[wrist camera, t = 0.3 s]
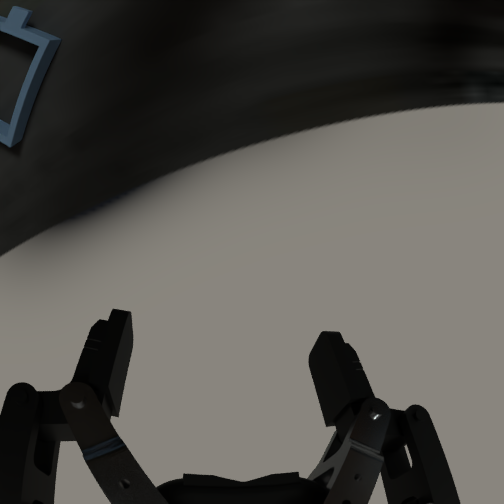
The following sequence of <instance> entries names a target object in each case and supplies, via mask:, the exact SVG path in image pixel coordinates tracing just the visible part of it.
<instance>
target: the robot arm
mask: <svg viewBox="0 0 504 504" xmlns="http://www.w3.org/2000/svg"><path fill="white" fill-rule="evenodd" d="M132 348H133V329H132V316H131V312H130V311H124V310H118V309H113V310H112V311H111V314H110V316H109V319H108V321H106V320H101V319H100V320H98V321H97V322H96V323H95V324H94V325H93V326H92V327H91V329H90V332H89V335H88V337H87V340H86V342H85V345H84V348H83V350H82V353H81V356H80V359H79V362H78V364H77V367H76V370H75V373H74V377H73V379H72V381H71V382H70V383H69V384H67V385H65V386H64V387H63V388H62V389H61V390H57V391H36V390H35V389H34V387H33V386H31V385H30V384H28V383H17V384H14V385H13V386H12V387H11V388H10V389H9V391H8V392H7V395H6V398H5V401H4V404H3V408H2V411H1V415H0V504H54V494H55V481H56V471H57V463H58V455H59V448H60V441H77V443H78V445H79V447H80V449H81V451H82V453H83V457H84V460H85V462H86V464H87V465H88V467H89V469H90V471H91V473H92V474H93V476H94V478H95V479H96V481H97V482H98V484H99V486H100V487H101V489H102V490H103V492H104V494H105V495H106V497H107V498H108V500H109V501H110V502H111V504H368V502H369V499H370V497H371V495H372V492H373V489H374V487H375V484H376V482H377V479H378V476H379V473H380V472H381V476H382V480H383V484H384V488H385V492H386V497H387V501H388V504H460V500H459V497H458V494H457V490H456V487H455V484H454V481H453V478H452V474H451V472H450V469H449V466H448V463H447V460H446V457H445V454H444V451H443V449H442V446H441V443H440V441H439V438H438V435H437V433H436V430H435V428H434V425H433V423H432V420H431V418H430V415H429V413H428V412H427V410H426V409H425V408H423V407H422V406H420V405H411V406H410V407H409V408H407V409H406V410H405V411H401V410H396V409H390V408H389V407H388V405H387V404H386V403H385V402H384V401H382V400H381V399H379V398H375V396H374V394H373V392H372V389H371V386H370V384H369V381H368V379H367V377H366V374H365V372H364V370H363V367H362V365H361V363H360V362H359V361H360V360H359V358H358V356H357V353H356V351H355V350H354V349H353V348H352V347H351V346H350V345H349V343H345V342H344V340H343V338H342V335H341V333H340V332H331V331H323V332H321V334H320V335H319V337H318V339H317V341H316V343H315V345H314V347H313V349H312V350H311V352H310V355H309V368H310V371H311V375H312V378H313V382H314V385H315V389H316V392H317V396H318V399H319V403H320V406H321V410H322V413H323V417H324V421H325V424H326V427H328V426H336V431H335V432H334V434H333V436H332V438H331V441H330V443H329V444H328V446H327V448H326V451H325V452H324V455H323V457H322V458H321V460H320V462H319V464H318V465H317V467H316V468H315V469H314V470H313V472H312V473H311V474H310V476H309V477H308V478H307V479H305V478H301V477H299V472H292V473H281V474H271V475H268V476H264V477H261V478H257V479H254V480H250V481H247V482H240V481H235V480H230V479H226V478H222V477H218V476H214V475H197V474H183V478H182V479H175V480H172V481H168V482H166V483H163V484H161V485H159V486H158V487H155V486H154V484H153V483H152V482H151V480H150V479H149V478H148V477H147V475H146V474H145V473H144V471H143V470H142V468H141V467H140V465H139V464H138V463H137V461H136V460H135V458H134V457H133V455H132V454H131V452H130V451H129V449H128V448H127V446H126V445H125V443H124V442H123V441H122V439H121V438H120V437H119V435H118V434H117V432H116V431H115V429H114V427H113V425H112V424H111V422H110V419H111V416H115V417H119V411H120V406H121V400H122V395H123V390H124V385H125V380H126V376H127V371H128V367H129V362H130V357H131V353H132ZM406 444H407V447H408V450H409V453H410V456H411V459H412V468H411V466H410V463H409V460H408V457H407V454H406V450H405V447H404V446H405V445H406Z"/></svg>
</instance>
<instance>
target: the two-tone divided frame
mask: <svg viewBox="0 0 504 504" xmlns="http://www.w3.org/2000/svg"><path fill="white" fill-rule="evenodd" d="M32 13H33V11H30V10H27V9H24V8H21V7H18V6H13V8H12V10H11V12H10V14H9V16H8V18H5V17H2V16H0V31H3V32H5V33H8V34H11V35H13V36H16V37H18V38H21V39H23V40H26V41H28V42H30V43H33V44H35V45H37V46H39V48H38V50H37V52H36V54H35V57H34V59H33V61H32V64H31V66H30V68H29V71H28V73H27V76H26V78H25V81H24V84H23V86H22V89H21V92H20V95H19V97H18V100H17V103H16V107H15V110H14V113H13V116H12V120H11V123H10V125H9V124H7V123H6V122H4V121H2V120H0V142H2V143H4V144H5V145H7V146H9V147H10V148H11V147H12V146H14V145H15V144H16V143H18V142H19V141H21V140H22V138H23V134H24V131H25V127H26V124H27V121H28V118H29V115H30V112H31V109H32V106H33V104H34V101H35V98H36V96H37V93H38V90H39V88H40V85H41V83H42V81H43V78H44V76H45V74H46V71H47V69H48V67H49V65H50V62H51V60H52V58H53V56H54V54H55V52H56V50H57V48H58V46H59V44H60V42H61V40H62V39H60V38H58V37H55V36H53V35H50V34H48V33H45V32H43V31H41V30H38V29H35V28H33V27H30V26H28V25H26V24H27V22H28V20H29V18H30V16H31V14H32Z"/></svg>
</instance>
